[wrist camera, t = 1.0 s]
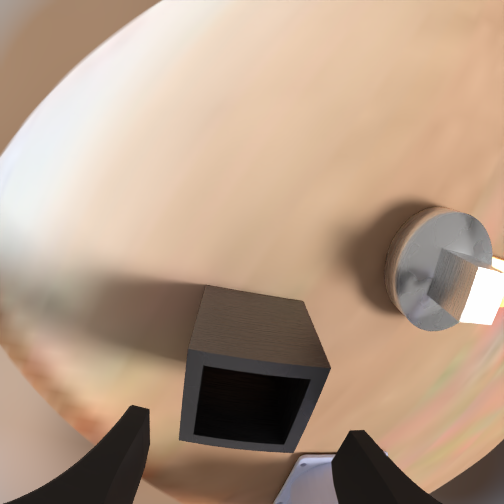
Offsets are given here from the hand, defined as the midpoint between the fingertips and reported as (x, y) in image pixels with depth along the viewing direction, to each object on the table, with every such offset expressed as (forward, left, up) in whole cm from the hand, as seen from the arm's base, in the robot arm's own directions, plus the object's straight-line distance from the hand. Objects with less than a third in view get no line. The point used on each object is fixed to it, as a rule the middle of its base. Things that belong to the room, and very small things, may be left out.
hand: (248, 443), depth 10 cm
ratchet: (+6, -17, -8) cm, 19 cm away
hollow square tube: (0, 0, -8) cm, 8 cm away
